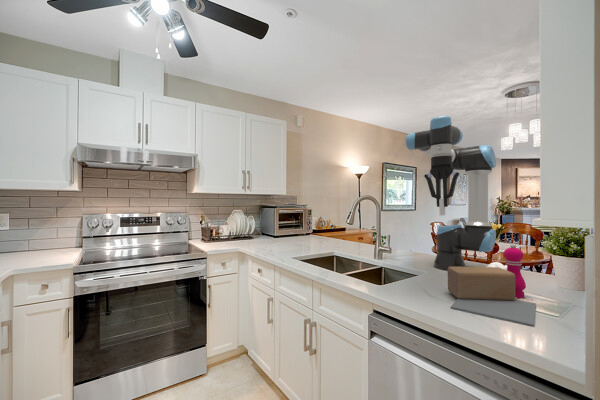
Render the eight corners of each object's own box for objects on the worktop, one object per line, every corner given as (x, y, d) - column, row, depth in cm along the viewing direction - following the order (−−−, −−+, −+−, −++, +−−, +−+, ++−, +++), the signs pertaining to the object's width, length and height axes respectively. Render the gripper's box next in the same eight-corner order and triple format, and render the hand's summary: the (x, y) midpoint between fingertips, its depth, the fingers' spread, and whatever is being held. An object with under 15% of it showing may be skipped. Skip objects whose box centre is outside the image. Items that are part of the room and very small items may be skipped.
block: (457, 299, 103) (516, 301, 100) (457, 272, 103) (516, 273, 100) (446, 290, 113) (500, 292, 110) (446, 265, 113) (500, 266, 110)
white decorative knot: (508, 281, 128) (508, 261, 128) (524, 289, 116) (524, 267, 116) (480, 280, 130) (480, 260, 130) (493, 288, 118) (493, 266, 118)
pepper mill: (501, 291, 113) (500, 241, 113) (523, 294, 110) (523, 242, 110) (503, 297, 107) (503, 244, 107) (528, 300, 103) (527, 245, 103)
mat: (464, 292, 113) (464, 290, 113) (536, 305, 98) (536, 303, 98) (450, 308, 96) (450, 306, 96) (534, 326, 82) (534, 324, 82)
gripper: (421, 157, 114) (422, 215, 114) (457, 153, 105) (459, 216, 106) (426, 158, 119) (427, 214, 120) (461, 155, 111) (462, 214, 111)
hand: (442, 215), depth 113 cm, fingers closed
